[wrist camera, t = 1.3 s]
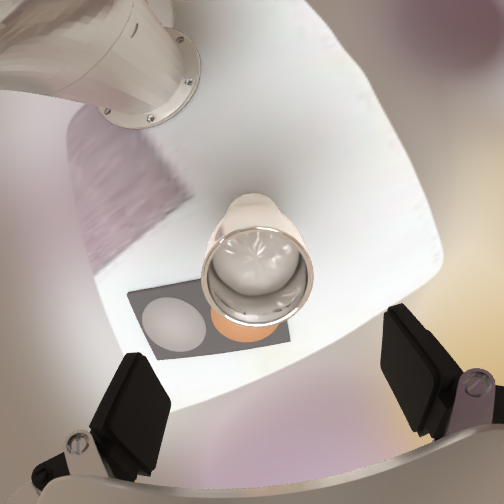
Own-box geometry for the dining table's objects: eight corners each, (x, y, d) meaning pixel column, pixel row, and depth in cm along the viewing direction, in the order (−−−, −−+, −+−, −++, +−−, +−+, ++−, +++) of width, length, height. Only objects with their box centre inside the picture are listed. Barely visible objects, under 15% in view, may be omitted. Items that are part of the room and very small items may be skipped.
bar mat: (128, 292, 33) (126, 295, 32) (275, 264, 32) (276, 266, 31) (158, 357, 36) (157, 360, 36) (289, 338, 35) (290, 341, 35)
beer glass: (221, 250, 31) (201, 329, 17) (220, 188, 29) (194, 221, 15) (283, 251, 31) (310, 330, 17) (286, 189, 29) (323, 224, 15)
